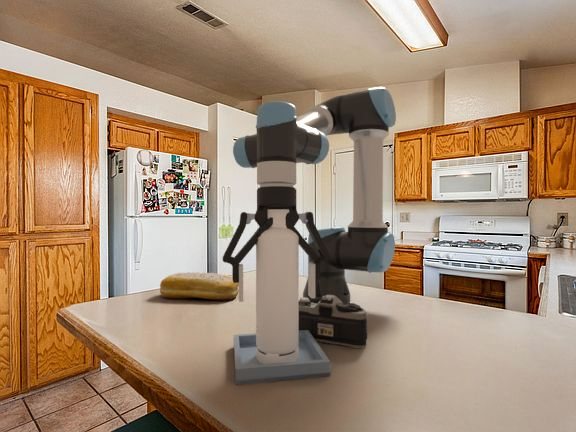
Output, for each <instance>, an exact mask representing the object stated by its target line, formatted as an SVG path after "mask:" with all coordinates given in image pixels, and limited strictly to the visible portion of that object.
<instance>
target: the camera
mask: <svg viewBox="0 0 576 432" xmlns="http://www.w3.org/2000/svg"><path fill="white" fill-rule="evenodd" d="M367 323H368V320H367V311H366V309H365V308H363V307H361V306H360V305H359V304H357V303H354V302H351V303H350V302H349V303H347V304H346V303H343V302H342V301H341V300H340V299H338V298H337V297H336V296H334V295H326V296H323V297H322V300H321V301H320V302H319V303H318V304H316V303H311V302H310V300H309V299H308V298H305V297H303V296H302V297H300V298H299V330H309V332H310V333H311V335H312V336H313V338H314V339H315V340H316V342H317V343H318V342H319V343H327V344H332V345H334V344H336V345H338V346H339V345H340V346H346V347H350V348H354V349H364V348H366V346H367V340H368V330H367V328H368V325H367Z"/></svg>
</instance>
